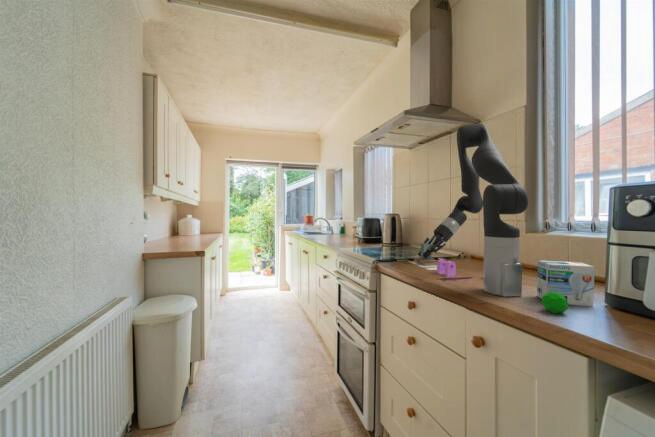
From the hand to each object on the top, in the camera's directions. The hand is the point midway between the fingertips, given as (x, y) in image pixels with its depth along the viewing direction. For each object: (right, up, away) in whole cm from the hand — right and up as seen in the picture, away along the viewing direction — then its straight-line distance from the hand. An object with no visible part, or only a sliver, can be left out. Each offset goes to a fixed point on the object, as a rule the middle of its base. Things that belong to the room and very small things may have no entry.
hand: (421, 256), depth 123 cm
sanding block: (+2, -4, 0) cm, 4 cm away
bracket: (+6, -6, -20) cm, 21 cm away
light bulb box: (+23, -6, -48) cm, 53 cm away
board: (+2, -5, -2) cm, 6 cm away
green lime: (+13, -6, -56) cm, 58 cm away
